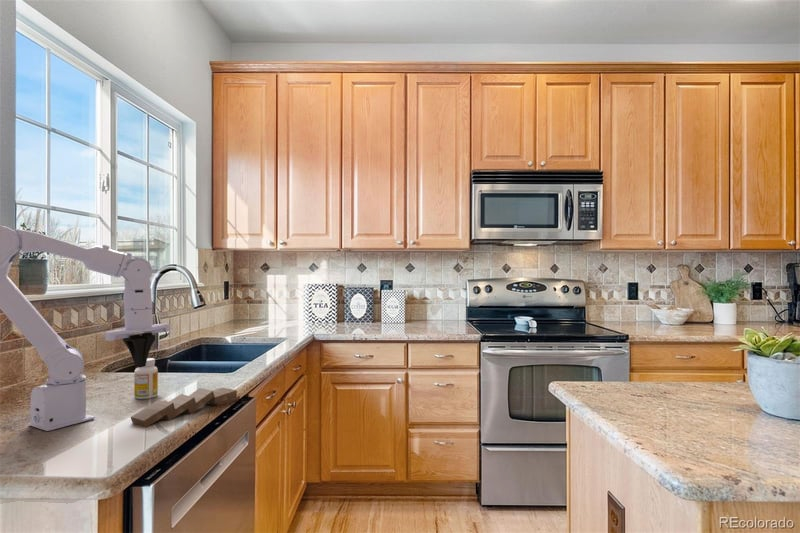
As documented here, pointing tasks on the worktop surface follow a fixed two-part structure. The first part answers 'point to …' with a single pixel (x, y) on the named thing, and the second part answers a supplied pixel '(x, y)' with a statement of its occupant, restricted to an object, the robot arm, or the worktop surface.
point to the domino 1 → (152, 413)
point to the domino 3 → (200, 399)
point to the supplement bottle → (146, 380)
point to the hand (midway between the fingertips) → (140, 366)
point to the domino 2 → (180, 405)
